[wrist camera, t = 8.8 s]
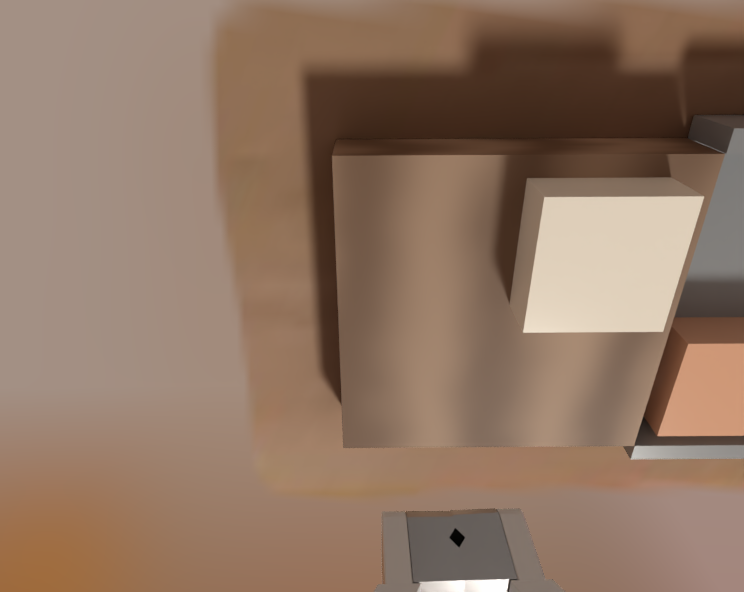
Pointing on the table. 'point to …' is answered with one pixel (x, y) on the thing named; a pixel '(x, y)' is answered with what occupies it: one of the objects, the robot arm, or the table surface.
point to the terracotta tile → (700, 379)
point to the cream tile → (601, 253)
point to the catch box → (711, 279)
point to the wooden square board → (480, 295)
